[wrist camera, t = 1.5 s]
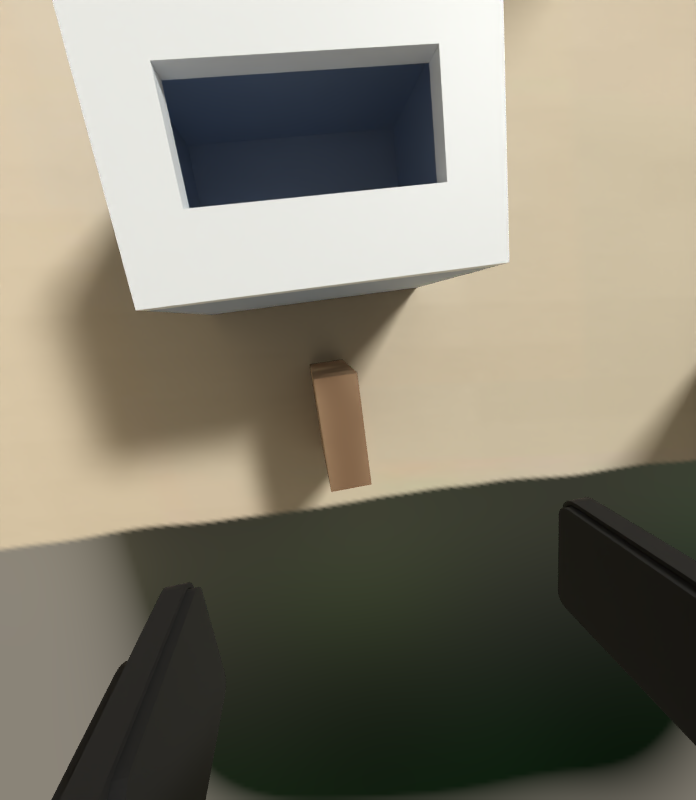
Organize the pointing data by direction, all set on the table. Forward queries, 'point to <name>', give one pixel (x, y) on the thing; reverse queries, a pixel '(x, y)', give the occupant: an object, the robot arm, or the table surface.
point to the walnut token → (341, 424)
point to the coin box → (293, 144)
